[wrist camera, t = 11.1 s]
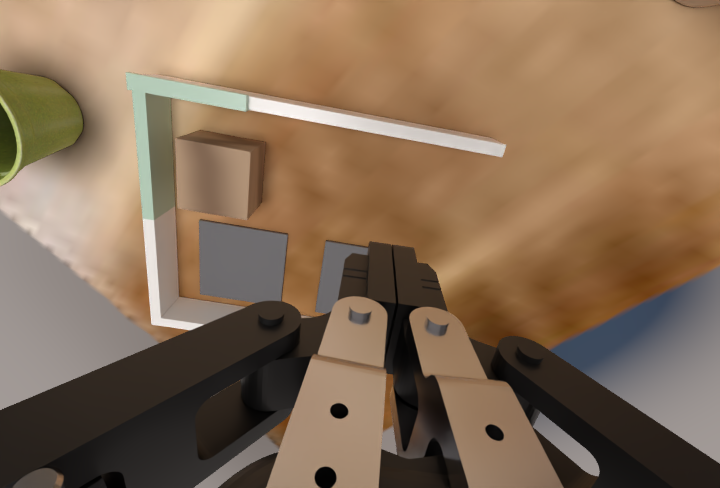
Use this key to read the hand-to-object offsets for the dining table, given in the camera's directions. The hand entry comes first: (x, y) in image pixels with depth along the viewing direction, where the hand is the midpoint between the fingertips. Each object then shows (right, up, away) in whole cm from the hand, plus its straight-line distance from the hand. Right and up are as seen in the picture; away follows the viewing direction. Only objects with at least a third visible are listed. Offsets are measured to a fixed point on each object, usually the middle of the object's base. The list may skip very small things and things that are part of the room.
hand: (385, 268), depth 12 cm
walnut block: (-13, +8, +22) cm, 27 cm away
